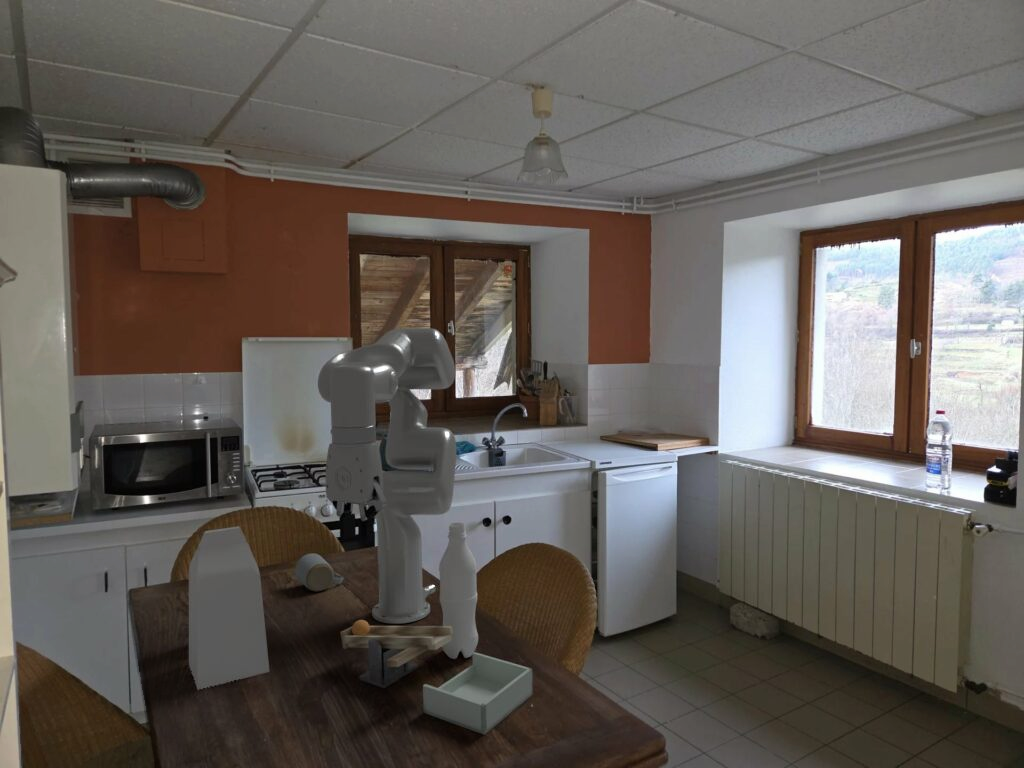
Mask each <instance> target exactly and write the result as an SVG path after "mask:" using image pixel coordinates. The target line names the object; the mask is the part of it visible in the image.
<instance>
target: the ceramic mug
mask: <svg viewBox="0 0 1024 768" xmlns="http://www.w3.org/2000/svg"><path fill="white" fill-rule="evenodd" d="M294 572H295V573H294V574H295V577H296V579H297V580H298V582H299V583H301V584H302V585H303V586H305V587H306V588H307V589H308V590H309V591H313V592H317V593H318V591H319V592H322V591H325V590H326V589H328V588H329V587H330V586H331V584H333V585H338V586H339V585H342V584H343V581H344V577H343V576H342V575H340V574H339V573H337V572H334V569H333V567H332V566H331V565H330V564H329V562H327V561H326V560H325V559H324V558H323V556H321V555H319V554H318V553H313V552H312V553H311V552H310V553H307V554H304V555H303V556H302V557H300V558H299V560H298V561H297V563H296V565H295V569H294Z"/></svg>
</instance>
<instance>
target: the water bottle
mask: <svg viewBox="0 0 1024 768" xmlns="http://www.w3.org/2000/svg"><path fill="white" fill-rule="evenodd" d="M448 530H449V532H448V535H447V538H448V544H447V546H446V549H445V551H444V553H443V555H442V557H441V560H440V562H439V564H438V565H439V568H438V571H439V586H440V587H439V604H440V605H441V609H442V626H452V629H453V634H451V637H452V641H450V642H448V643H447V644H445V645H443V646H442V647H441V648H442V650H443V652H444V653H445V654H446V655H447V657H449V658H450V659H453V660H456V659H457V658H458V657H459V654H460V652H461V654H462V656H463V658H465V659H467V658H468V659H469V658H470V657H472V656H473V653H474V652H475V651H476V649H477V646H478V643H479V634H478V630H477V625H476V607H477V602H478V591H477V589H478V588H477V570H478V569H477V568H478V566H477V562H476V559H475V557H474V555H473V553H472V551H471V550H470V548H469V545H468V544H467V539H466V538H467V537H468V535H467V534H466V533H467V532H466V524H465V523H463V522H452V523H449V525H448Z"/></svg>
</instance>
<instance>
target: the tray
mask: <svg viewBox="0 0 1024 768" xmlns="http://www.w3.org/2000/svg"><path fill="white" fill-rule="evenodd" d="M533 695H534V692H533V668H532V667H528V666H523V665H522V664H516V663H514V662H510V661H507V660H503V659H499V658H496V657H492V656H490V655H486V654H482V653H479V652H475V651H474V653H473V654H472V664H471V665H470V666H468V667H467V668H465V669H464V670H462V671H461V672H459V673H458V674H456V675H455V676H453V677H452V678H451V679H449V680H447V681H446V682H444V683H443V684H442V685H440V686H439V687H435V686H434V685H429V684H427V683H425V684H423V685H422V700H423V702H422V703H423V714H427V715H429V716H432V717H434V718H438V719H440V720H443V721H446V722H448V723H451V724H454V725H456V726H459V727H462V728H464V729H467V730H470V731H473V732H475V733H478V734H480V735H481V734H482V735H484V736H485V735H486V734H487V733H489V732H490V731H491V730H492V729H494V728H495V727H496V726H497V725H498V724H499V723H501V722H502V721H504V719H505V718H507V717H508V716H509V715H510V714H512V713H513V712H514V711H515V710H516V709H518V708H519V707H520V706H521V705H522V704H523V703H524V702H525V701H527V700H528V699H529V698H530V697H532V696H533Z"/></svg>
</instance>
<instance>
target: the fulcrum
mask: <svg viewBox="0 0 1024 768" xmlns="http://www.w3.org/2000/svg"><path fill="white" fill-rule="evenodd" d="M367 649H368V670H367V671H366V672H364V673H362V674H360V675H359V676H358V678H359V679H358V680H360V681H363V682H366V683H368V684H370V685H373V686H377V687H378V688H379V687H380V688H382V689H385V688H387V687H388V686H390V685H392V684H393V683H395V682H397V681H399V680H400V679H402V678H404V677H405V676H406V675H408V674H410V673H411V672H413V671H415V670H416V669H418V668H419V663H417V662H413V661H411V660H409V661H408V662H406V663H404V664H402V665H401V666H399V667H387V662H386V660H388V659H389V658H391V657H393V656H395V655H397V654H398V653H400V652H402V651H404V650H405V649H389V648H381V642H379V641H375V640H372V639H371V640H369V641H368V648H367Z"/></svg>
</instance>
